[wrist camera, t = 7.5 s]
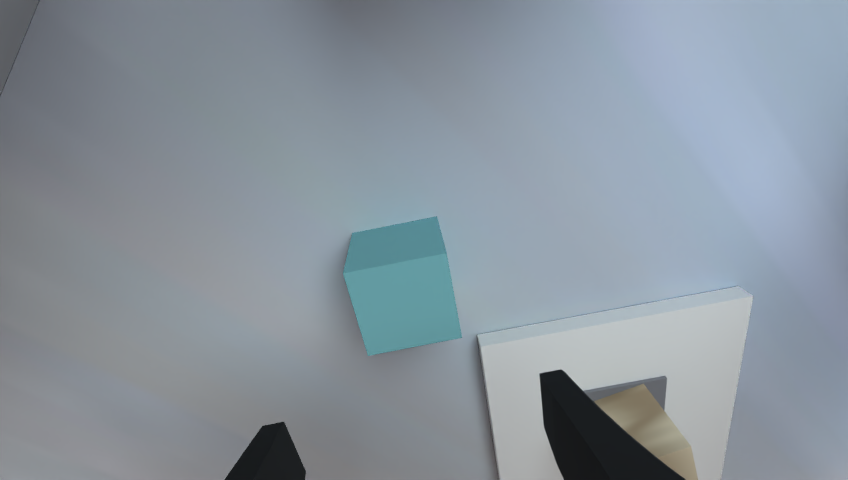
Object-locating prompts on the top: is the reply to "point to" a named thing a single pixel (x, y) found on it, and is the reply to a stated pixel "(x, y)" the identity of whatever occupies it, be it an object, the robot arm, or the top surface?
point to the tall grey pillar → (13, 31)
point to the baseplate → (621, 373)
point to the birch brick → (651, 428)
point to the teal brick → (401, 286)
